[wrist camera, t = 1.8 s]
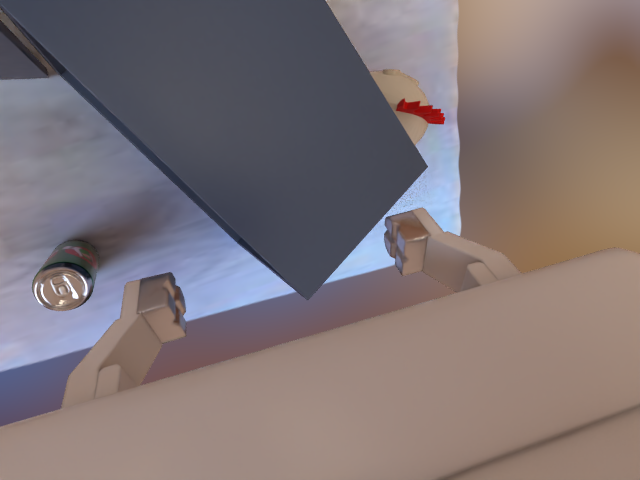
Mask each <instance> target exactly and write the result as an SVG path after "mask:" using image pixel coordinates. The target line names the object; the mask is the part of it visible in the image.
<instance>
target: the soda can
mask: <svg viewBox="0 0 640 480" xmlns="http://www.w3.org/2000/svg"><path fill="white" fill-rule="evenodd" d="M98 266H99V255H98V252H97V251H96V249H95V248H94V247H93V246H92V245H90V244H88V243H86V242H84V241H79V240H71V241H67V242H64V243H62V244H60V245H59V246H57V247H56V248H55V249H54V251H53V252H52V254H51V255H50V256H49V258H48V259H47V261H46V262H45V263H44V265H43V266H42V267H41V269H40V270H39V272H38V273H37V274H36V276H35V278H34V280H33V283H32V290H33V294H34V296H35V298H36V300H37V301H38V302H39V303H40V304H42V305H43V306H44V307H46V308H48V309H51V310H55V311H66V310H71V309H75V308H77V307H79V306H81V305H83V304H84V303H85V302H86V301H87V300H88V299H89V298H90V296H91V294H92V292H93V288H94V284H95V279H96V275H97V271H98Z"/></svg>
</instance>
